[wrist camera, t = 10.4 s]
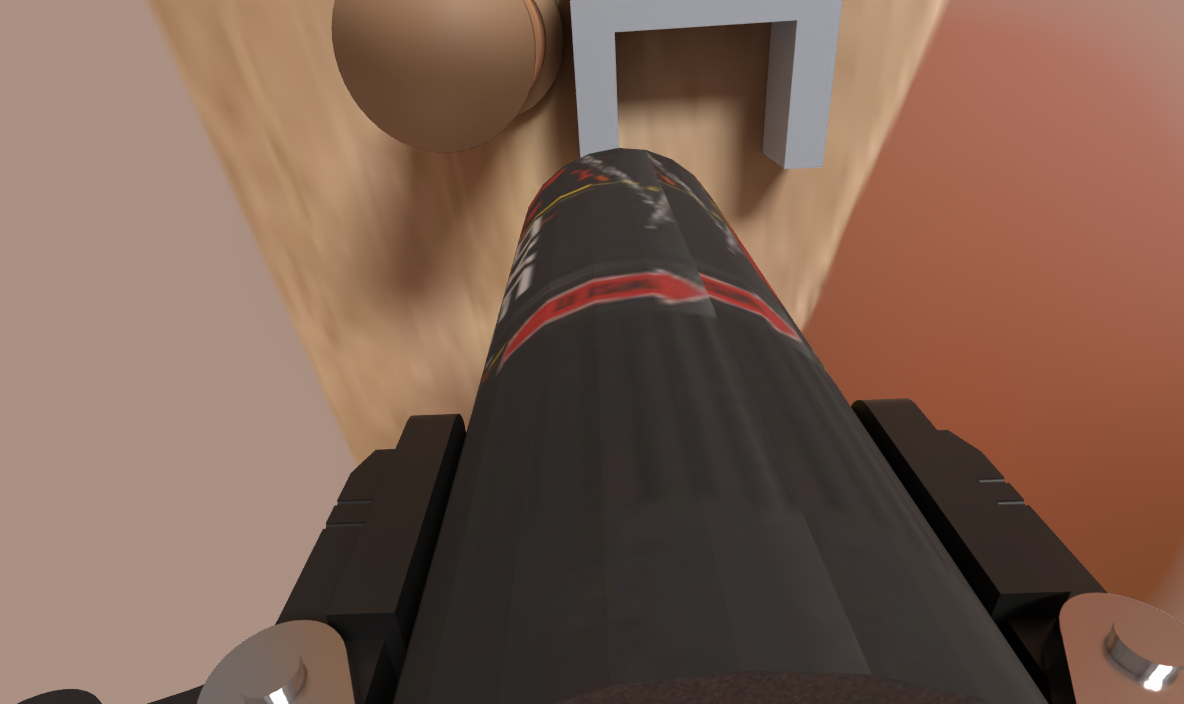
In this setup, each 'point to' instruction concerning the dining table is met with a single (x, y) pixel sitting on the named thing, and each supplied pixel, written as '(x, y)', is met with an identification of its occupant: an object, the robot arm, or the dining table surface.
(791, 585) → the deodorant
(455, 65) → the bobbin
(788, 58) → the notch board
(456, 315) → the dining table surface
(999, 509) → the robot arm
